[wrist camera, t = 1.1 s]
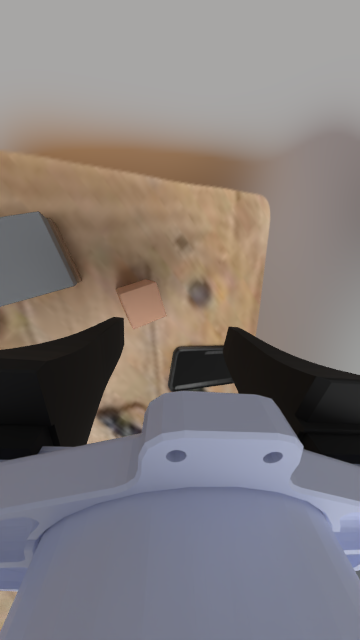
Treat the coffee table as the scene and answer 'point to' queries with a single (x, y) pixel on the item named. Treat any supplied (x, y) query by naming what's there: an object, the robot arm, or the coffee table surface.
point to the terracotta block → (141, 302)
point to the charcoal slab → (30, 259)
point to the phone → (198, 368)
